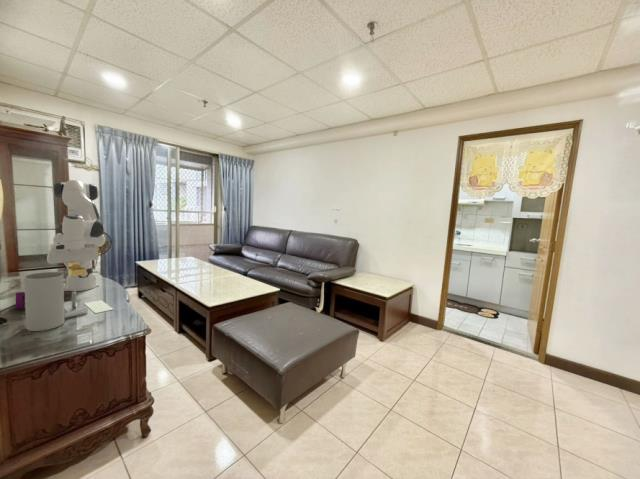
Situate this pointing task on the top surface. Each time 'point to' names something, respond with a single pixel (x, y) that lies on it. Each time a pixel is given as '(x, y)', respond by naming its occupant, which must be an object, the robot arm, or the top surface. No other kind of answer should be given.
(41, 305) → the cylinder vase
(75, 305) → the toggle switch block
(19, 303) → the mounting bracket
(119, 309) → the top surface
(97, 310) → the sage mat
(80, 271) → the brass hook
